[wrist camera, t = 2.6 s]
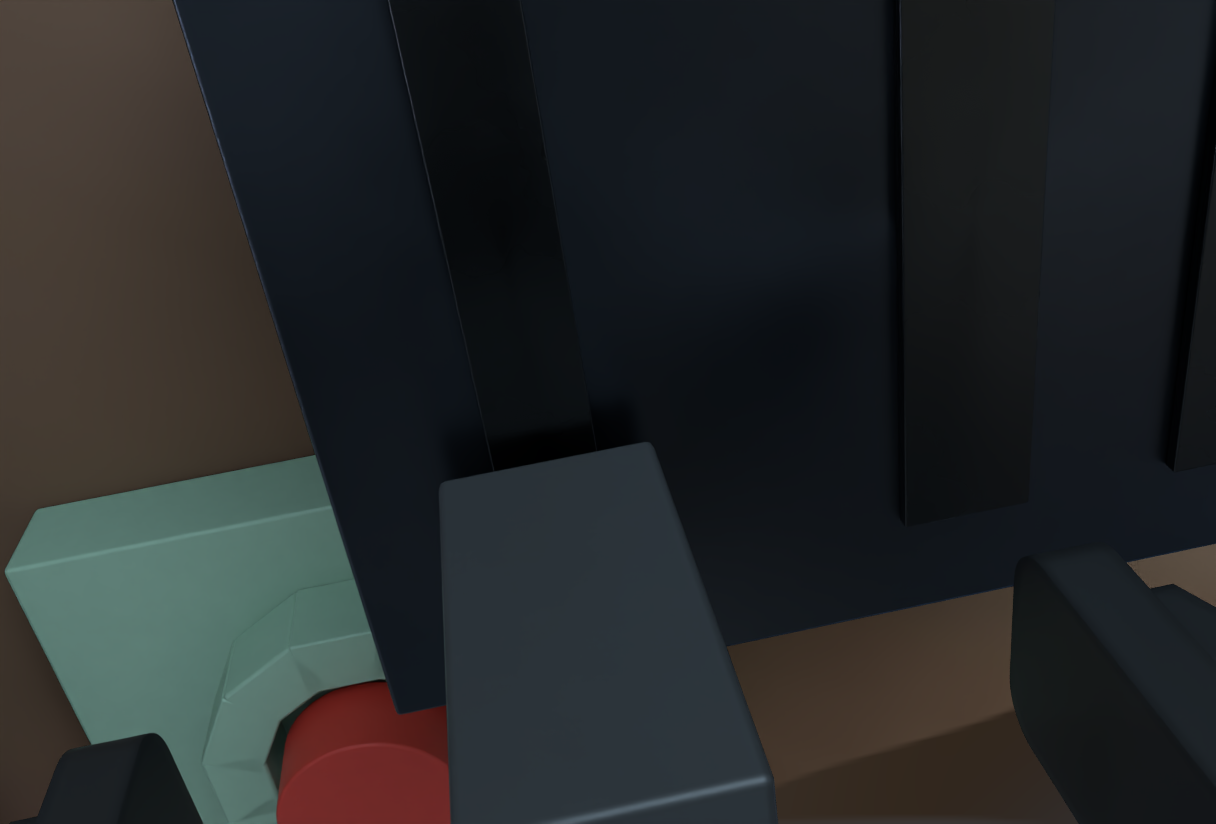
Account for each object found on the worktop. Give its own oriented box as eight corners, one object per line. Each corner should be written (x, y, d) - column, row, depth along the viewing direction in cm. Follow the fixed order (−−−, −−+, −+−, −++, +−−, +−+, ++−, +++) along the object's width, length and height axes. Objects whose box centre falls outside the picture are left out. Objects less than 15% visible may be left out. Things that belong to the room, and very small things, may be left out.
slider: (478, 645, 14) (509, 1046, 9) (436, 478, 12) (449, 849, 8) (675, 605, 14) (795, 981, 9) (651, 436, 13) (776, 777, 8)
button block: (189, 835, 29) (158, 981, 25) (35, 508, 24) (-31, 632, 20) (659, 734, 29) (692, 862, 26) (605, 396, 24) (637, 499, 21)
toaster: (395, 381, 23) (384, 743, 15) (227, -259, 18) (43, -300, 9) (1067, 252, 24) (1441, 520, 15) (1110, -397, 19) (1737, -559, 10)
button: (311, 826, 24) (304, 896, 23) (262, 700, 22) (251, 768, 21) (480, 790, 24) (484, 857, 23) (445, 663, 23) (447, 726, 21)
